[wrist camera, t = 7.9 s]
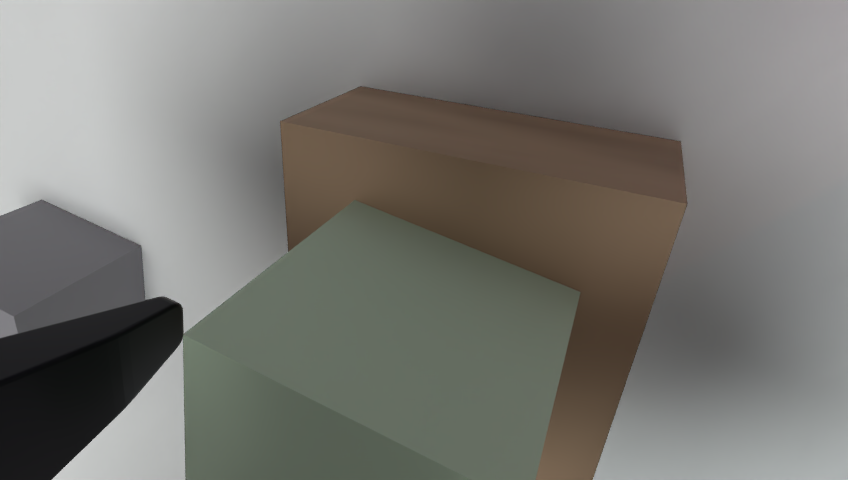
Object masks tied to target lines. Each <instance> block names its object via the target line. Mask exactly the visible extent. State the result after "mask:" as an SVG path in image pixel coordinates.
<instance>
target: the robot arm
mask: <svg viewBox="0 0 848 480" xmlns="http://www.w3.org/2000/svg"><path fill="white" fill-rule="evenodd" d="M182 338H183V308H182V306H181V304H179V303H177V302H175V301H173V300H171V299H169V298H167V297H156V298H152V299H148V300H145V301H141V302H137V303H133V304H129V305H125V306H121V307H118V308H114V309H110V310H106V311H102V312H98V313H94V314H91V315H87V316H83V317H79V318H75V319H71V320H67V321H64V322H60V323H56V324H52V325H48V326H44V327H40V328H37V329H33V330H29V331H25V332H21V333H17V334H13V335H10V336H6V337H2V338H0V480H51V479H53V478H54V477H55V476H56V475H57V474H58V473H59V472H60V471H61V470H62V469H63V468H64V467H65V466H66V465H67V464H68V463H69V462H70V461H71V460H72V459H73V458H74V457H75V456H76V455H77V454H78V453H79V452H80V451H81V450H83V449H84V448H85V447H86V446H87V445H88V444H89V443H90V442H91V441H92V440H93V439H94V438H95V437H96V436H97V435H98V434H99V433H100V432H101V431H102V430H103V429H104V428H105V427H106V426H107V425H108V424H109V423H110V422H111V421H113V420H114V419H115V418H116V417H117V416H118V415H119V414H120V413H121V412H122V411H123V410H124V409H125V408H126V407H127V405H128V404H129V403H130V402H131V401H132V400H133V399H134V398H135V397H136V395H137V394H138V393H139V392H140V391H141V390H142V388H143V387H144V386H145V385H146V384H147V382H148V381H149V380H150V379H151V378H152V377H153V375H154V374H155V373H156V372H157V371H158V370H159V368H160V367H161V366H162V365H163V364H164V363H165V361H166V360H167V359H168V358H169V357H170V355H171V354H172V353H173V352H174V351H175V350H176V348H177V347H178V346H179V344H180V343H181V341H182Z"/></svg>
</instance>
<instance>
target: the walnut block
mask: <svg viewBox="0 0 848 480" xmlns="http://www.w3.org/2000/svg"><path fill="white" fill-rule="evenodd" d="M280 126H281V142H282V158H283V174H284V190H285V206H286V222H287V239H288V252H289V251H290V250H292V249H293V248H294V247H295V246H297V245H298V244H299V243H300V242H302V241H303V240H304V239H306V238H307V237H308V236H309V235H311V234H312V233H313V232H315V231H316V230H317V229H318V228H320V227H321V226H322V225H323V224H325V223H326V222H327V221H329V220H330V219H331V218H332V217H334V216H335V215H336V214H337V213H339V212H340V211H341V210H343V209H344V208H345V207H346V206H348V205H349V204H350V203H351V202H353V201H354V200H356V201H359V202H361V203H363V204H366V205H368V206H371V207H373V208H376V209H378V210H381V211H383V212H385V213H388V214H390V215H393V216H395V217H398V218H400V219H403V220H405V221H408V222H410V223H412V224H415V225H417V226H420V227H422V228H425V229H427V230H430V231H432V232H435V233H437V234H439V235H442V236H444V237H447V238H449V239H452V240H454V241H457V242H459V243H461V244H464V245H466V246H469V247H471V248H474V249H476V250H479V251H481V252H484V253H486V254H488V255H491V256H493V257H496V258H498V259H501V260H503V261H506V262H508V263H510V264H513V265H515V266H518V267H520V268H523V269H525V270H528V271H530V272H533V273H535V274H537V275H540V276H542V277H545V278H547V279H550V280H552V281H555V282H557V283H560V284H562V285H564V286H567V287H569V288H572V289H574V290H577V291H579V292H581V293H580V297H579V301H578V305H577V309H576V313H575V317H574V322H573V326H572V330H571V334H570V338H569V342H568V347H567V351H566V355H565V359H564V363H563V367H562V372H561V376H560V380H559V384H558V388H557V392H556V397H555V401H554V405H553V409H552V413H551V417H550V421H549V426H548V430H547V434H546V438H545V442H544V446H543V451H542V455H541V459H540V463H539V467H538V471H537V476H536V480H593V477H594V474H595V471H596V468H597V465H598V462H599V459H600V456H601V453H602V451H603V448H604V445H605V442H606V439H607V436H608V433H609V430H610V427H611V424H612V421H613V419H614V416H615V413H616V410H617V407H618V404H619V401H620V398H621V395H622V392H623V389H624V387H625V384H626V381H627V378H628V375H629V372H630V369H631V366H632V363H633V360H634V357H635V355H636V352H637V349H638V346H639V343H640V340H641V337H642V334H643V331H644V328H645V325H646V323H647V320H648V317H649V314H650V311H651V308H652V305H653V302H654V299H655V296H656V293H657V291H658V288H659V285H660V282H661V279H662V276H663V273H664V270H665V267H666V264H667V261H668V259H669V256H670V253H671V250H672V247H673V244H674V241H675V238H676V235H677V232H678V229H679V227H680V224H681V221H682V218H683V215H684V212H685V209H686V206H687V196H686V187H685V177H684V167H683V158H682V148H681V141H675V140H669V139H663V138H658V137H652V136H646V135H640V134H634V133H629V132H623V131H617V130H611V129H605V128H599V127H594V126H588V125H582V124H576V123H570V122H565V121H559V120H553V119H547V118H541V117H536V116H530V115H524V114H518V113H512V112H507V111H501V110H495V109H489V108H483V107H477V106H472V105H466V104H460V103H454V102H448V101H443V100H437V99H431V98H425V97H419V96H414V95H408V94H402V93H396V92H390V91H384V90H379V89H373V88H367V87H361V86H360V87H358V88H356V89H354V90H351V91H349V92H347V93H344V94H342V95H340V96H337V97H335V98H333V99H330V100H328V101H326V102H324V103H321V104H319V105H317V106H314V107H312V108H310V109H307V110H305V111H303V112H301V113H298V114H296V115H294V116H291V117H289V118H287V119H284V120H282V121H280Z"/></svg>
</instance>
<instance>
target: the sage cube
mask: <svg viewBox="0 0 848 480" xmlns="http://www.w3.org/2000/svg"><path fill="white" fill-rule="evenodd" d="M580 293H581V292H579V291H577V290H574V289H572V288H569V287H567V286H564V285H562V284H560V283H557V282H555V281H552V280H550V279H547V278H545V277H542V276H540V275H537V274H535V273H533V272H530V271H528V270H525V269H523V268H520V267H518V266H515V265H513V264H510V263H508V262H506V261H503V260H501V259H498V258H496V257H493V256H491V255H488V254H486V253H484V252H481V251H479V250H476V249H474V248H471V247H469V246H466V245H464V244H461V243H459V242H457V241H454V240H452V239H449V238H447V237H444V236H442V235H439V234H437V233H435V232H432V231H430V230H427V229H425V228H422V227H420V226H417V225H415V224H412V223H410V222H408V221H405V220H403V219H400V218H398V217H395V216H393V215H390V214H388V213H385V212H383V211H381V210H378V209H376V208H373V207H371V206H368V205H366V204H363V203H361V202H359V201H356V200H354V201H353V202H351V203H350V204H349V205H348V206H346V207H345V208H344V209H343V210H341V211H340V212H339V213H337V214H336V215H335V216H334V217H332V218H331V219H330V220H329V221H327V222H326V223H325V224H323V225H322V226H321V227H320V228H318V229H317V230H316V231H315V232H313V233H312V234H311V235H309V236H308V237H307V238H306V239H304V240H303V241H302V242H300V243H299V244H298V245H297V246H295V247H294V248H293V249H292V250H290V251H289V252H288V253H286V254H285V255H284V256H283V257H281V258H280V259H279V260H278V261H276V262H275V263H274V264H272V265H271V266H270V267H269V268H267V269H266V270H265V271H263V272H262V273H261V274H260V275H258V276H257V277H256V278H255V279H253V280H252V281H251V282H249V283H248V284H247V285H246V286H244V287H243V288H242V289H241V290H239V291H238V292H237V293H235V294H234V295H233V296H232V297H230V298H229V299H228V300H226V301H225V302H224V303H223V304H221V305H220V306H219V307H218V308H216V309H215V310H214V311H212V312H211V313H210V314H209V315H207V316H206V317H205V318H204V319H202V320H201V321H200V322H198V323H197V324H196V325H195V326H193V327H192V328H191V329H189V330H188V331H187V332H186V333H184V334H183V361H184V417H185V473H186V480H536V476H537V471H538V467H539V463H540V459H541V455H542V451H543V446H544V442H545V438H546V434H547V430H548V426H549V421H550V417H551V413H552V409H553V405H554V401H555V397H556V392H557V388H558V384H559V380H560V376H561V372H562V367H563V363H564V359H565V355H566V351H567V347H568V342H569V338H570V334H571V330H572V326H573V322H574V317H575V313H576V309H577V305H578V301H579V297H580Z"/></svg>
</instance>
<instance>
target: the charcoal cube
mask: <svg viewBox="0 0 848 480" xmlns="http://www.w3.org/2000/svg"><path fill="white" fill-rule="evenodd" d="M141 301H145V290H144V277H143V264H142V251H141V245H138V244H136V243H134V242H132V241H130V240H128V239H125V238H123V237H121V236H119V235H117V234H115V233H112V232H110V231H108V230H106V229H104V228H102V227H99V226H97V225H95V224H93V223H91V222H89V221H86V220H84V219H82V218H80V217H78V216H76V215H74V214H71V213H69V212H67V211H65V210H63V209H61V208H58V207H56V206H54V205H52V204H50V203H48V202H45V201H43V200H40V201H37V202H35V203H32V204H30V205H27V206H25V207H22V208H19V209H17V210H14V211H12V212H9V213H7V214H4V215H2V216H0V338H2V337H6V336H10V335H13V334H17V333H21V332H25V331H29V330H33V329H37V328H40V327H44V326H48V325H52V324H56V323H60V322H64V321H67V320H71V319H75V318H79V317H83V316H87V315H91V314H94V313H98V312H102V311H106V310H110V309H114V308H118V307H121V306H125V305H129V304H133V303H137V302H141Z"/></svg>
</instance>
